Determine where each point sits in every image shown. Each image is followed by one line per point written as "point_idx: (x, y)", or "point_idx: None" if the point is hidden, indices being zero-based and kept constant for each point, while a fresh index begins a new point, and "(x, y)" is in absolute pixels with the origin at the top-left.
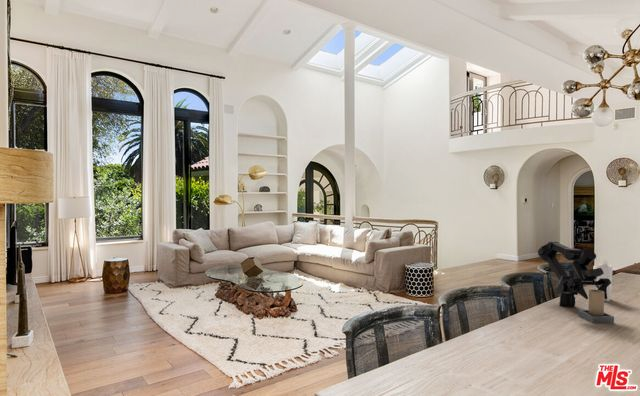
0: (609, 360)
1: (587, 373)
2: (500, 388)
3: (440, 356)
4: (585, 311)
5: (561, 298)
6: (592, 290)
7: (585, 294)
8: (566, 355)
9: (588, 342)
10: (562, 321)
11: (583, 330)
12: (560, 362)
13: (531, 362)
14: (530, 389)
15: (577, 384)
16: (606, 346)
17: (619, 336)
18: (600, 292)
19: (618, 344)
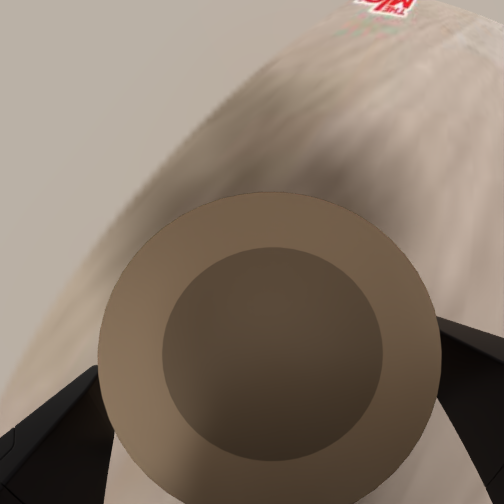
0: (382, 19)
1: (423, 9)
2: (496, 22)
3: None
4: None
5: None
6: (362, 407)
7: (469, 330)
8: (456, 42)
9: (414, 72)
10: (489, 275)
11: (417, 155)
12: (460, 32)
13: (493, 42)
14: (474, 13)
15: (434, 3)
16: (369, 52)
17: (280, 108)
18: (244, 229)
19: (326, 59)
